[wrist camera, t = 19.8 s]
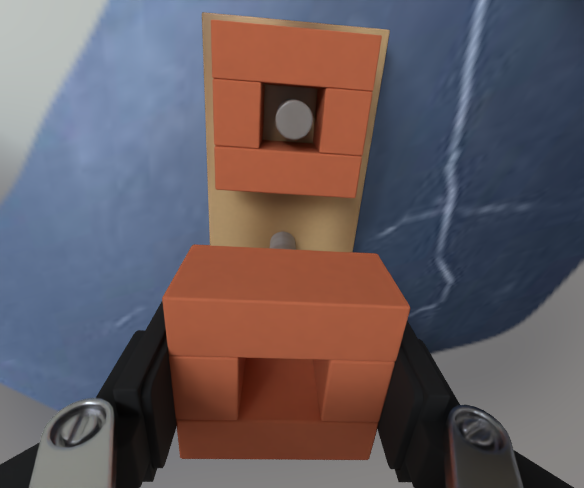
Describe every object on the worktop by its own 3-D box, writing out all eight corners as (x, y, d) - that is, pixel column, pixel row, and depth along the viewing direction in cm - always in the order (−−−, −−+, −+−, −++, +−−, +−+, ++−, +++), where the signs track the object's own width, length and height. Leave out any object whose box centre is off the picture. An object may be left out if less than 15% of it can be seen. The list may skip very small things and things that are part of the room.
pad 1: (362, 46, 14) (382, 35, 11) (343, 181, 17) (356, 199, 14) (224, 33, 14) (210, 18, 11) (225, 174, 16) (214, 190, 14)
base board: (380, 35, 15) (422, 11, 11) (340, 287, 21) (356, 340, 17) (208, 19, 15) (177, -14, 10) (216, 282, 21) (198, 335, 16)
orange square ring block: (377, 252, 11) (411, 307, 8) (350, 385, 13) (369, 461, 10) (192, 243, 10) (160, 297, 8) (200, 382, 13) (179, 460, 10)
